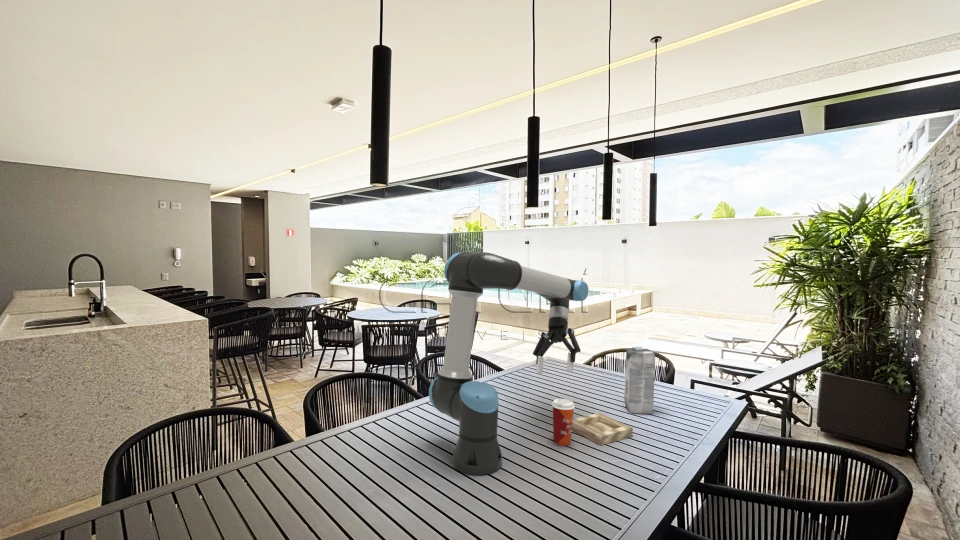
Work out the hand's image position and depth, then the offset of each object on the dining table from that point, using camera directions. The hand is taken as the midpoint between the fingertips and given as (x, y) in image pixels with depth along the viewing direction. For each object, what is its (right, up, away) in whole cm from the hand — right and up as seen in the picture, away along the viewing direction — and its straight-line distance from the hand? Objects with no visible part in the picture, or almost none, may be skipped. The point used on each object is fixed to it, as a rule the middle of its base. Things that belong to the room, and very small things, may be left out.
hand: (554, 372), depth 153 cm
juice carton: (+39, -21, +20) cm, 49 cm away
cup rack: (+16, -21, -3) cm, 27 cm away
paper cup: (+1, -21, -12) cm, 24 cm away
